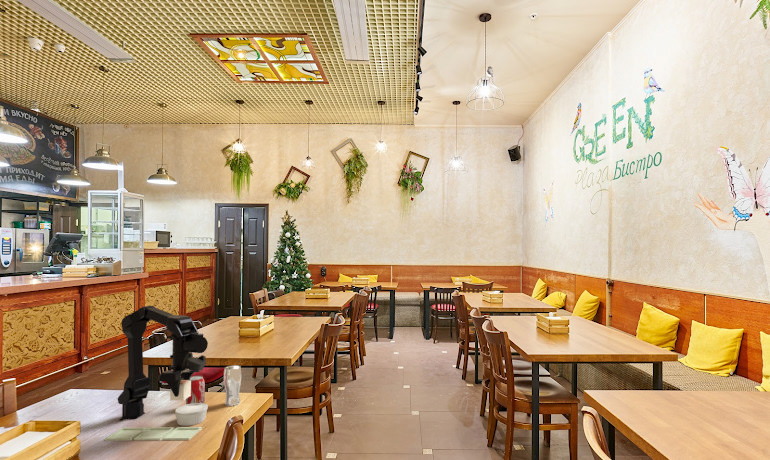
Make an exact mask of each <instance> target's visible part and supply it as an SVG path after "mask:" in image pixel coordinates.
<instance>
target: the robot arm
mask: <svg viewBox="0 0 770 460" xmlns="http://www.w3.org/2000/svg"><path fill="white" fill-rule="evenodd" d="M192 319H193V318H192V317H191V316H190V315H183V314H181V315H179V314H178V315H177V314H173V313H171V312H168V311H165V310H162V309H160V308H157V307H156V306H155V305H154V306H153V305H147V306H141V307H140V308H139V309H137V310H135V311H133V312H131V313H130V314H127V315H125V316H124V317H123V318H122V319H121V328H122V333H123V334H124V335H125V337H126V338H127V363H128V367H127V368H128V371H127V372H128V375H127V378H126V379H125V381H124V384H123V390H122V392H121V393H120V394H119V396H118V397H117V402H118V403H117V404H118V405H122V409H121V413H122V415H121V417H120V418H119V420H120V421H124V420H137V419H139V418H140V417H142V416H143V415H145V414H146V412H145V404H144V399H147V398H148V394H149V391H150V388H151V384H150V380H151V379H150V376H148V377H147V376H146V374H145V372H144V355H143V353H144V352H143V350H144V349H143V335H144V334H145V332H146V330H147V327H148V326H147V325H148V323H149V322H150V321H153V322H156V323H158V324H160V325H162V326H165V327H166V329H167V331H168V332H170V333H171V334H170V335H168V339H169V340H172V354H170V355H169V359H172V362H171V363H172V364H171V366H169V369H168V370H165V371H162V372H161V373H159V375H158V382H166V384H167V385H168V386H169V388H171V390H172V392H173V394H174V396H175V397H178V395H179V388H180V382H181V381H182V380H188V381H190V378H191V377H193V376H194V374H195V373H200V372H202V371H203V369H204V368H205V366H206V365H207V358H206V356H205V355H203V354H202V353H205V351H206V350H207V349H208V345H209V341H208V340H207V338H206V337H204V333H199V331H198V329H197V327H196V324H195V323H194V320H192ZM193 353H195V354H196V353H197V354H202V355H199V356H198V357H197V356H196V357H194V354H193Z"/></svg>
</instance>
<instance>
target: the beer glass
mask: <svg viewBox="0 0 770 460" xmlns="http://www.w3.org/2000/svg"><path fill="white" fill-rule="evenodd" d="M241 367H242V366H241V365H237V364H235V365H229V366H225V367H224V370H223V384H224V385H223V386H224V391H225V401H224V406H226V407H232V406H233V405H234V406H237V405H239V404H241V399H240V391H241V390H240V389H241V386H242V385H241V383H242V368H241ZM234 406H233V407H234Z"/></svg>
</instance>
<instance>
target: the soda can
mask: <svg viewBox="0 0 770 460" xmlns="http://www.w3.org/2000/svg"><path fill="white" fill-rule="evenodd" d="M190 381H191V396H190V397H188V398H187V399H185V405H187V404H192V403H204V404H205V399H206V397H205V392H206V389H205V388H206V386H205V379H204V377H203V375H192V376H191V378H190Z"/></svg>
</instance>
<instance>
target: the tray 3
mask: <svg viewBox="0 0 770 460" xmlns="http://www.w3.org/2000/svg"><path fill="white" fill-rule="evenodd" d="M202 429H203V427H202V426H180V427H179V426H177V427H176V428H174V430H173V431H171V432H170V433H169V434H168V435H166V436H165V437H164V438H162V441H190V440H191V439H193V437H195V436H196V435H197V434H198V433H199V432H200V431H202Z"/></svg>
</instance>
